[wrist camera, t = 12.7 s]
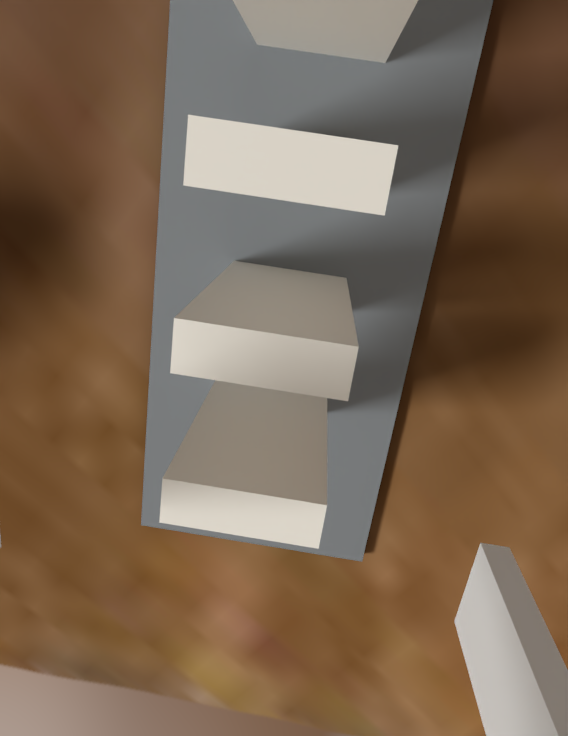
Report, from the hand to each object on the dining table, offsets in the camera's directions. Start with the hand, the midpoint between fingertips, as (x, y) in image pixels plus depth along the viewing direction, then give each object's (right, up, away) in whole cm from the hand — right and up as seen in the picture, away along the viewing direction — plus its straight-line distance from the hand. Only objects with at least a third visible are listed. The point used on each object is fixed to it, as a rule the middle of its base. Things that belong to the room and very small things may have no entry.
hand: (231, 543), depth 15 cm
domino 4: (+2, +8, +9) cm, 13 cm away
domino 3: (+2, +13, +8) cm, 15 cm away
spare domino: (+1, +4, +11) cm, 12 cm away
